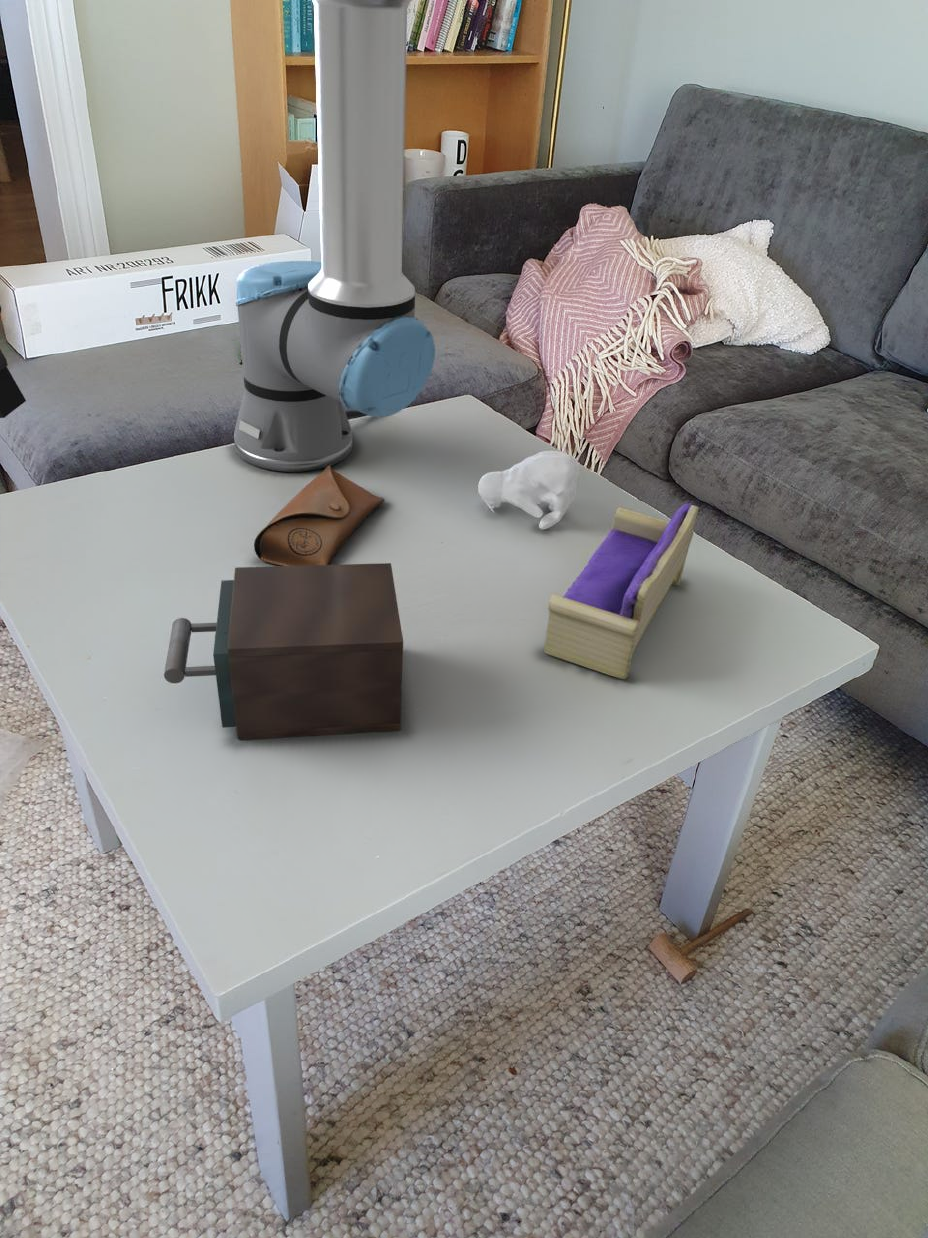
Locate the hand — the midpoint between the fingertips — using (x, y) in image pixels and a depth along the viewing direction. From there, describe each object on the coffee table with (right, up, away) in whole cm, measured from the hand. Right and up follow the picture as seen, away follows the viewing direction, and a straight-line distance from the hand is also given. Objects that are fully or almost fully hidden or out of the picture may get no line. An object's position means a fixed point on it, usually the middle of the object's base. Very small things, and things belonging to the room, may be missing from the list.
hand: (8, 409), depth 73 cm
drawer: (+20, -23, +7) cm, 31 cm away
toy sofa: (+52, -17, +21) cm, 59 cm away
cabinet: (+24, -23, +9) cm, 34 cm away
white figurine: (+44, -4, +37) cm, 57 cm away
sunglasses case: (+21, -7, +31) cm, 38 cm away
